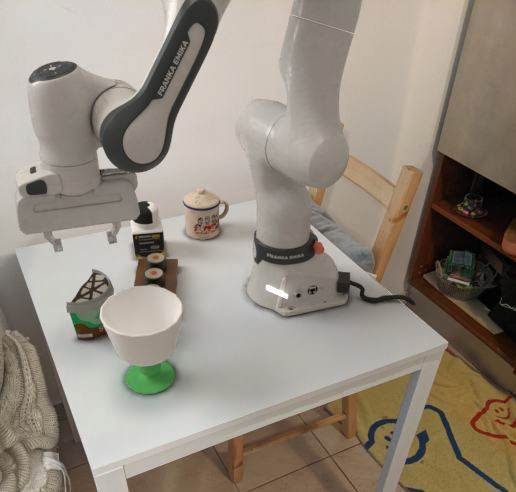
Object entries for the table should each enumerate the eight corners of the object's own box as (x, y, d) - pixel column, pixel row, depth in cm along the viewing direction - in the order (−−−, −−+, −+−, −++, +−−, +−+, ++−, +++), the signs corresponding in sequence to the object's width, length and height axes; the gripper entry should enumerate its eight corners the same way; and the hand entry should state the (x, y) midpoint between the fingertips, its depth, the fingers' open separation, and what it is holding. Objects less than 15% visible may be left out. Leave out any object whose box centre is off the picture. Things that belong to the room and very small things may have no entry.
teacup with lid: (194, 244, 137) (192, 200, 129) (178, 227, 142) (176, 185, 135) (236, 232, 142) (237, 190, 134) (220, 217, 147) (219, 175, 140)
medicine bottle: (135, 259, 131) (129, 214, 123) (133, 243, 136) (127, 199, 128) (165, 256, 132) (161, 211, 124) (162, 241, 137) (158, 196, 129)
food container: (104, 349, 107) (96, 309, 100) (74, 344, 108) (64, 303, 101) (128, 311, 116) (122, 271, 109) (100, 306, 117) (93, 267, 110)
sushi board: (178, 265, 129) (177, 247, 126) (174, 319, 115) (172, 300, 111) (139, 266, 129) (137, 247, 125) (130, 320, 114) (127, 301, 111)
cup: (196, 394, 99) (192, 326, 89) (118, 412, 95) (105, 343, 85) (178, 345, 109) (173, 279, 98) (107, 359, 105) (94, 292, 94)
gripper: (131, 158, 96) (139, 229, 105) (5, 171, 89) (25, 245, 99) (139, 173, 91) (147, 246, 100) (7, 188, 85) (28, 264, 94)
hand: (85, 246), depth 99 cm, fingers open, 8 cm apart
